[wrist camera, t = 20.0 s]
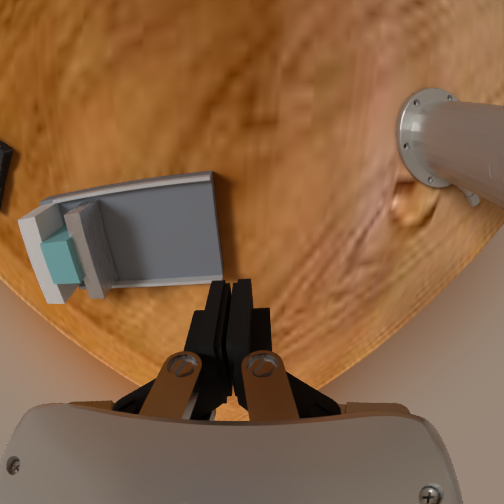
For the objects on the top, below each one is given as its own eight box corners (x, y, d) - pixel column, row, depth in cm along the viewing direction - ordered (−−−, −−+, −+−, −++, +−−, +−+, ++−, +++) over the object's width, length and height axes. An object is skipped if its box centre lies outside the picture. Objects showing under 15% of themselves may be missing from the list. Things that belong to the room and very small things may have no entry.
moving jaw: (97, 199, 29) (78, 212, 25) (118, 277, 33) (104, 298, 29) (83, 201, 29) (63, 215, 25) (104, 278, 33) (90, 298, 29)
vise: (212, 170, 30) (204, 185, 24) (223, 269, 36) (220, 303, 30) (48, 197, 30) (16, 216, 24) (72, 278, 36) (49, 306, 30)
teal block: (88, 221, 30) (66, 240, 25) (99, 259, 32) (80, 283, 28) (63, 225, 30) (39, 244, 25) (74, 261, 32) (53, 284, 28)
